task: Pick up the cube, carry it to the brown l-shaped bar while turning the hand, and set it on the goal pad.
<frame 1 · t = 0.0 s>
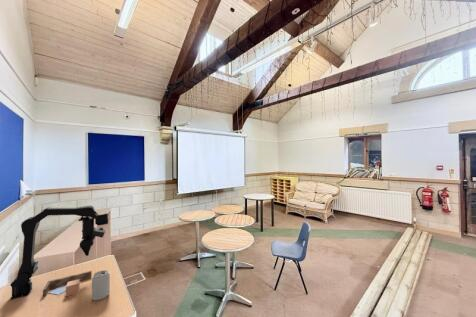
hand: (88, 252, 120), 15 cm above the table, fingers open, 9 cm apart
cube: (72, 292, 106), on the table
can: (100, 297, 102), on the table
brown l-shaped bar: (70, 285, 112), on the table
goal pad: (60, 289, 108), on the table
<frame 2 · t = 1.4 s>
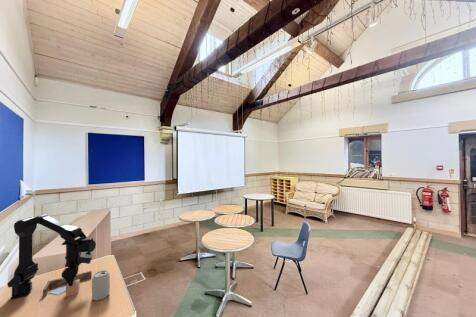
hand: (72, 281, 106), 5 cm above the table, fingers open, 9 cm apart
nothing on the table moved.
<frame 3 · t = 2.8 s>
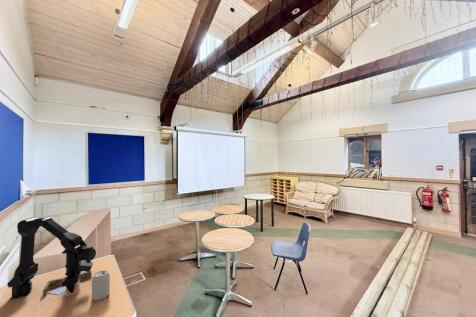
hand: (72, 290, 106), 1 cm above the table, fingers closed on cube, 5 cm apart
cube: (72, 292, 106), on the table, touching gripper
everything else where it was.
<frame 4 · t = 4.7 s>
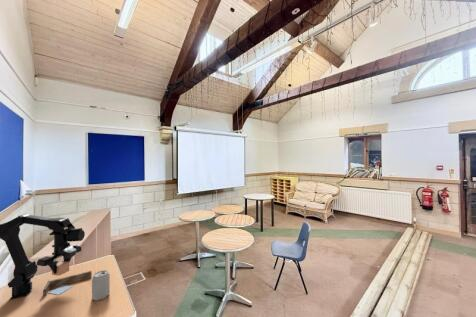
hand: (60, 270, 108), 10 cm above the table, fingers closed on cube, 5 cm apart
cube: (60, 272, 108), point 9 cm above the table, touching gripper
everything else where it was.
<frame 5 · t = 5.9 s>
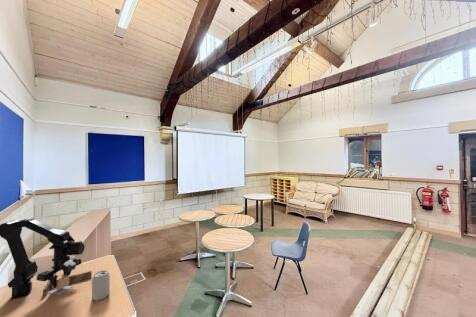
hand: (60, 284, 108), 3 cm above the table, fingers closed on cube, 5 cm apart
cube: (60, 286, 108), point 2 cm above the table, touching gripper
everything else where it was.
when the fingers open (2 cm above the table, at t = 6.8 s): cube drops 1 cm, resting on goal pad.
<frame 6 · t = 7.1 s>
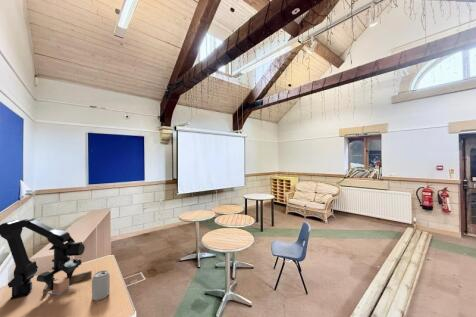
hand: (60, 285, 108), 2 cm above the table, fingers open, 8 cm apart
cube: (60, 289, 108), resting on goal pad
everything else where it was.
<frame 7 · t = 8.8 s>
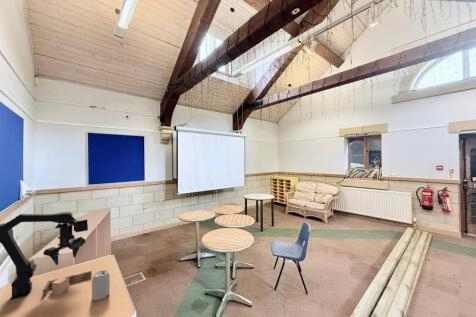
hand: (65, 261, 116), 12 cm above the table, fingers open, 9 cm apart
nothing on the table moved.
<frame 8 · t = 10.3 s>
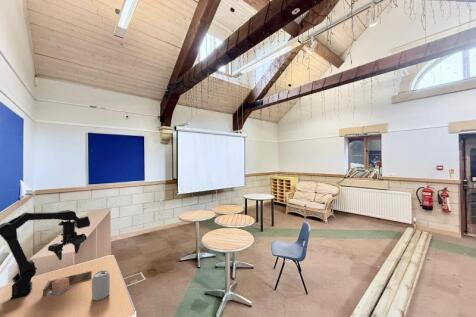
hand: (68, 256, 121), 12 cm above the table, fingers open, 9 cm apart
nothing on the table moved.
at the end: cube 0.0 cm from the target spot on the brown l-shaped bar, point 0.2 cm above the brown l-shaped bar's base; cube tilted 0°; the gripper is holding nothing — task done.
